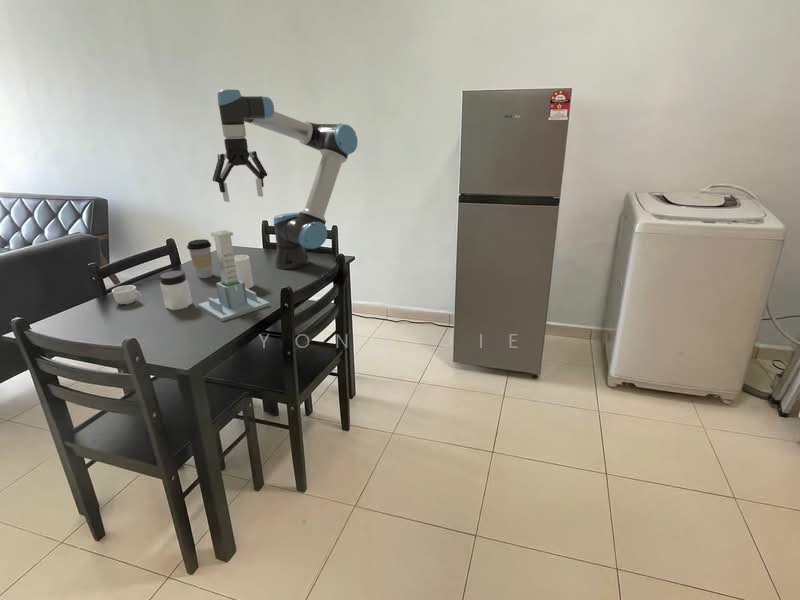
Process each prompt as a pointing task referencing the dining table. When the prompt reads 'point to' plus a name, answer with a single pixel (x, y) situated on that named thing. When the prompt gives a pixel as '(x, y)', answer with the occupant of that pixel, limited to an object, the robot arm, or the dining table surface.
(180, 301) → the jar
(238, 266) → the mug
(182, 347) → the dining table surface
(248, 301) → the stand base
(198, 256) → the coffee cup
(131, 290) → the teacup
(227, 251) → the column
